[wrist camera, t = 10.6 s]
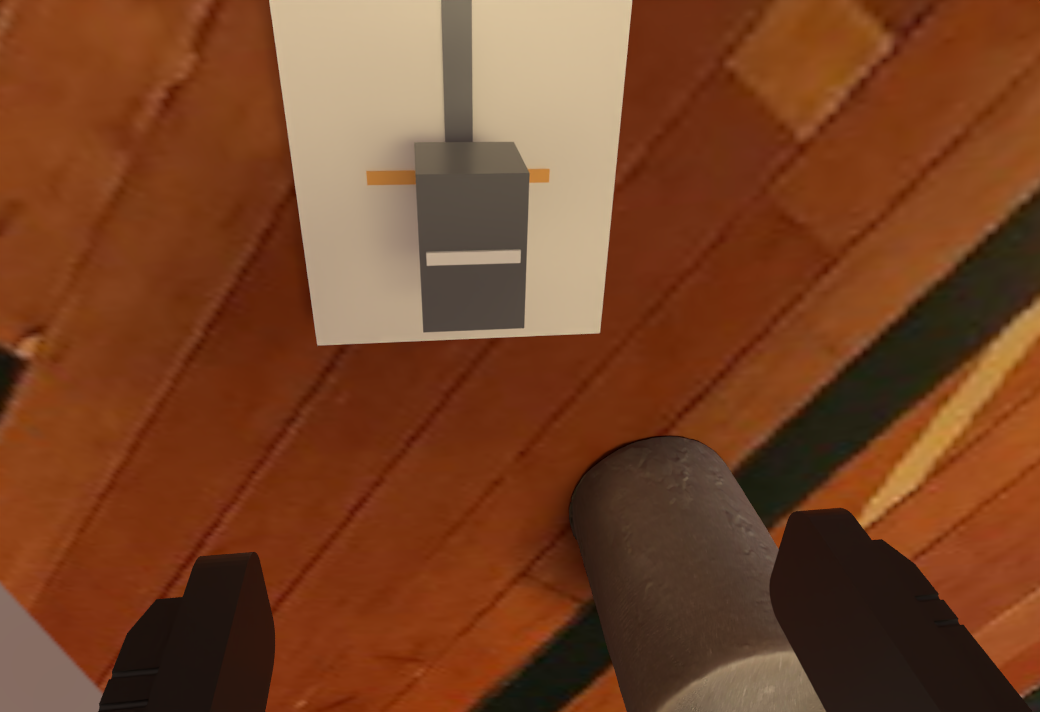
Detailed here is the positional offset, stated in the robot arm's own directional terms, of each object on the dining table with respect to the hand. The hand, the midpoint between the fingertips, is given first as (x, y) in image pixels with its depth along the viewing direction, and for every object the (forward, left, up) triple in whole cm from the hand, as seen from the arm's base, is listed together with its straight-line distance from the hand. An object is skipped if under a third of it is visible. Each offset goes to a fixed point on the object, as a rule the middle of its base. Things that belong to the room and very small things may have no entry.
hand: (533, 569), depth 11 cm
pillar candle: (+20, +11, -22) cm, 31 cm away
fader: (0, 0, -18) cm, 18 cm away
